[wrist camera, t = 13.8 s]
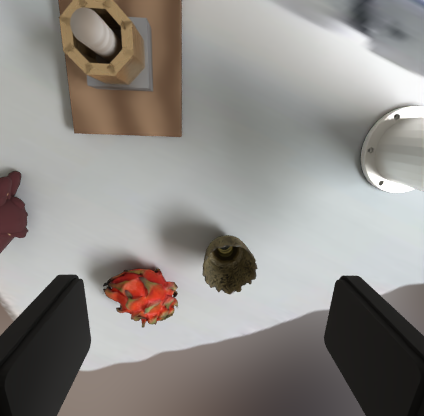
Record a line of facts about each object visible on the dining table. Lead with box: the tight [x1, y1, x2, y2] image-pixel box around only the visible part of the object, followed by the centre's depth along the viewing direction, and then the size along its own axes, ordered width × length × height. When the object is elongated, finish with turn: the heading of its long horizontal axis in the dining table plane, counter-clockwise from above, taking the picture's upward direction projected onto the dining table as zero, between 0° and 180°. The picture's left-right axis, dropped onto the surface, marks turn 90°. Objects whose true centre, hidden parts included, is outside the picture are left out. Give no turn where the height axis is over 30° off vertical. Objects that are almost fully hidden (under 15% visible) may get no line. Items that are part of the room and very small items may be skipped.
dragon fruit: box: [103, 269, 178, 327], centre depth 40 cm, size 8×8×12 cm
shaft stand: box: [58, 0, 182, 137], centre depth 27 cm, size 14×18×13 cm
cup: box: [203, 235, 257, 294], centre depth 38 cm, size 8×7×8 cm
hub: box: [59, 0, 145, 85], centre depth 26 cm, size 6×6×6 cm
